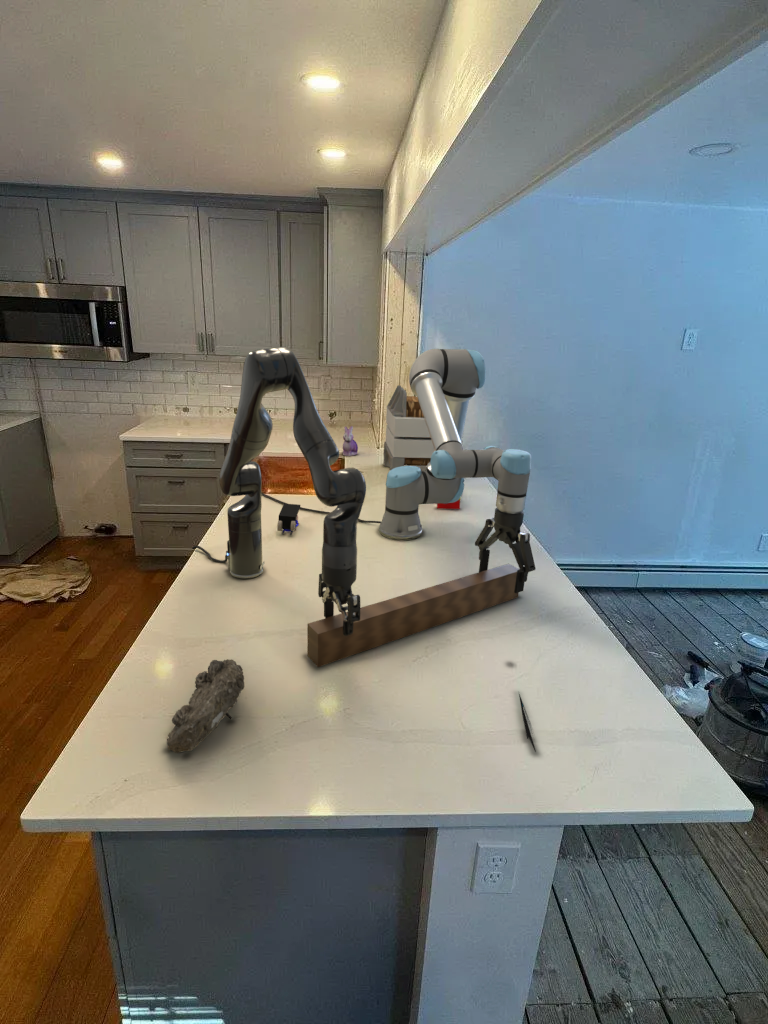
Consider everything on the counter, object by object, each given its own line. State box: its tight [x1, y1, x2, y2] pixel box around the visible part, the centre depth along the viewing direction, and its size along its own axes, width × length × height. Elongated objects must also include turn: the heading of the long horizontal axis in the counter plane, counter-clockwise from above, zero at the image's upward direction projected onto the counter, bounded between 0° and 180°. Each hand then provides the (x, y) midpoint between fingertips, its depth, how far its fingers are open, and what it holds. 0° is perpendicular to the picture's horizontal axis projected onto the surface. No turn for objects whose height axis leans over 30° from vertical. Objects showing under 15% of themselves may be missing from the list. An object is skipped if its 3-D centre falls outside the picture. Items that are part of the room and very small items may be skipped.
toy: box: [436, 496, 462, 510], centre depth 238 cm, size 12×13×30 cm
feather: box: [517, 691, 537, 753], centre depth 115 cm, size 2×28×2 cm
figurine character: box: [276, 503, 301, 536], centre depth 198 cm, size 7×8×15 cm
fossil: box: [166, 658, 245, 754], centre depth 106 cm, size 22×10×15 cm
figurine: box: [342, 425, 359, 457], centre depth 302 cm, size 9×10×15 cm
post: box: [306, 563, 520, 668], centre depth 142 cm, size 64×5×8 cm, turn 125°
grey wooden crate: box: [383, 384, 465, 471], centre depth 268 cm, size 34×33×41 cm
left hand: (338, 625), depth 127 cm, fingers open, 8 cm apart
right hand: (500, 581), depth 156 cm, fingers open, 13 cm apart
